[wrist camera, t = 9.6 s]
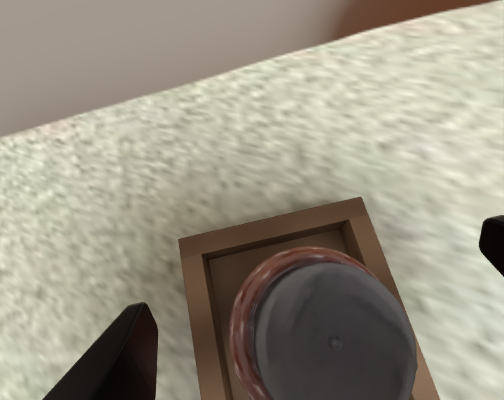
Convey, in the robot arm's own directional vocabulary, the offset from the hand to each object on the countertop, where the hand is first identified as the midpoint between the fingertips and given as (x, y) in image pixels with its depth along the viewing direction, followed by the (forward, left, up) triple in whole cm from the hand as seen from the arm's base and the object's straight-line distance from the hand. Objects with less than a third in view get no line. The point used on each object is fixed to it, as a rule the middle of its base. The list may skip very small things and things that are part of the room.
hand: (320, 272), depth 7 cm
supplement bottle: (-1, -1, -12) cm, 12 cm away
